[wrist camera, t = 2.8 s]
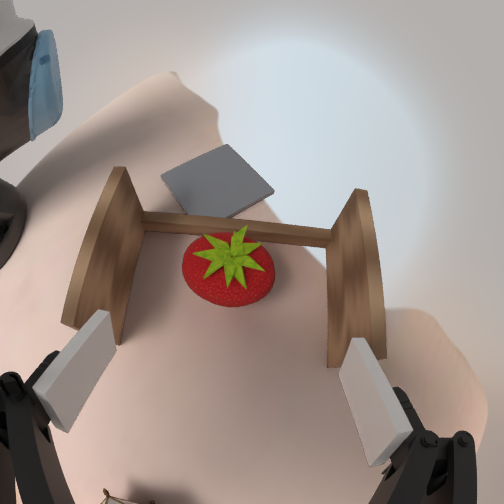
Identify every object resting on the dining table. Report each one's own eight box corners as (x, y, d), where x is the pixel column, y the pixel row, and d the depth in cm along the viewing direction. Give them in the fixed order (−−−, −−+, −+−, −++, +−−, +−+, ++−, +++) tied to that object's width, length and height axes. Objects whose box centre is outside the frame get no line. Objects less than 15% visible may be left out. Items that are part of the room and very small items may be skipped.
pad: (161, 178, 32) (160, 175, 32) (227, 146, 35) (227, 143, 35) (201, 234, 29) (201, 231, 28) (273, 193, 32) (274, 190, 32)
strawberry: (199, 255, 28) (186, 195, 19) (271, 271, 28) (291, 216, 19) (183, 310, 25) (158, 270, 16) (260, 327, 25) (278, 297, 16)
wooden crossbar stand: (338, 367, 24) (386, 358, 16) (109, 343, 23) (60, 322, 15) (335, 239, 30) (367, 190, 22) (138, 220, 29) (114, 166, 21)
